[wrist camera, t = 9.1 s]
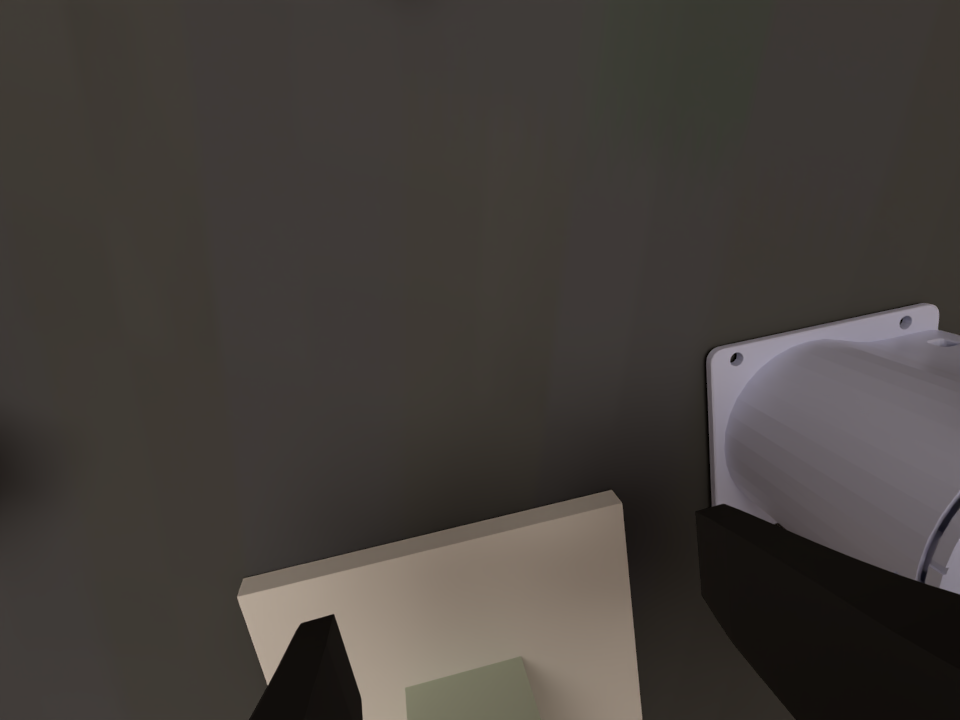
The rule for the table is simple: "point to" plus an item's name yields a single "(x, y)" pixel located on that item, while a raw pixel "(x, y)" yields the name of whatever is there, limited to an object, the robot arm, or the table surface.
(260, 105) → the table surface
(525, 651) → the board
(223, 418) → the table surface
